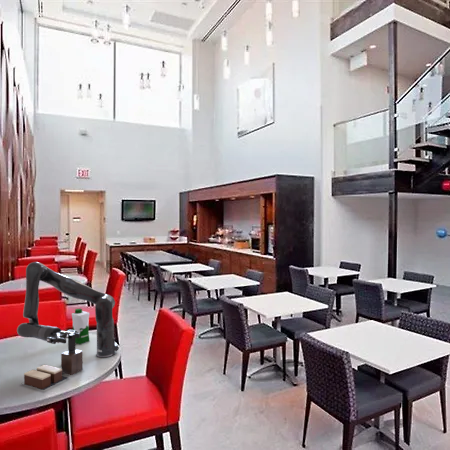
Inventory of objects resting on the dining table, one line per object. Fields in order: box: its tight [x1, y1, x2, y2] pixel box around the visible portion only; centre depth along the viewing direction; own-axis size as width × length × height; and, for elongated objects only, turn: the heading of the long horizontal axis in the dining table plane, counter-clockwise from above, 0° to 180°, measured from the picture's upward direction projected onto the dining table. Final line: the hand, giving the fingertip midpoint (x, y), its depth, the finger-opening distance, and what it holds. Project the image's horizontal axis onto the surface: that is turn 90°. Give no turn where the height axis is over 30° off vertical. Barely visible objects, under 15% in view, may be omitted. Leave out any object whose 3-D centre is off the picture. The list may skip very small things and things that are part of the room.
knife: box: [67, 334, 76, 353], centre depth 186 cm, size 3×2×19 cm
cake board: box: [21, 375, 69, 391], centre depth 176 cm, size 15×14×1 cm
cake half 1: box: [23, 369, 51, 390], centre depth 172 cm, size 12×4×5 cm, turn 65°
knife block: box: [60, 348, 84, 376], centre depth 186 cm, size 7×7×10 cm
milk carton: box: [71, 308, 90, 345], centre depth 230 cm, size 9×9×20 cm
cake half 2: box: [36, 364, 63, 383], centre depth 177 cm, size 12×4×5 cm, turn 65°
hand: (72, 338), depth 185 cm, fingers open, 8 cm apart
